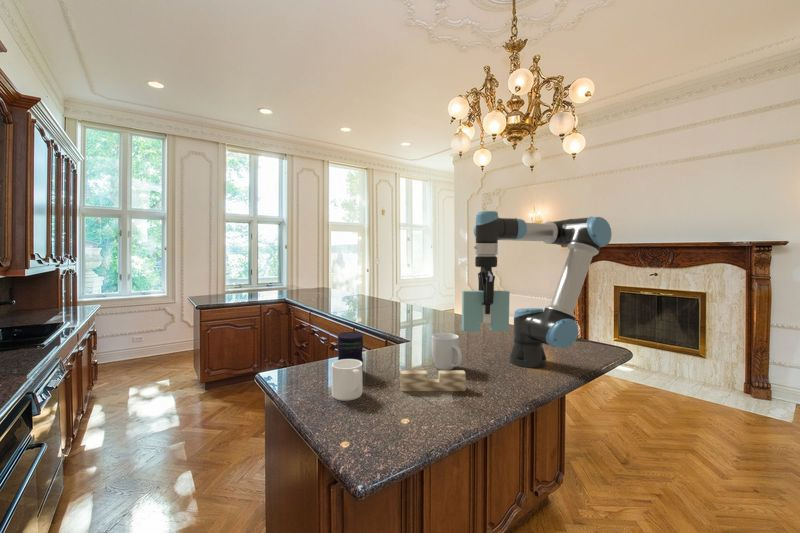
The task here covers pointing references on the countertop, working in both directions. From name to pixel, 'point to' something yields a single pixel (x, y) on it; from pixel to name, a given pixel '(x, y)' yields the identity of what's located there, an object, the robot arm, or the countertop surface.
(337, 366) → the mug
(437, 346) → the mug
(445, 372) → the notched wooden beam
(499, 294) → the pale teal block
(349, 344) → the storage jar
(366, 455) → the countertop surface
